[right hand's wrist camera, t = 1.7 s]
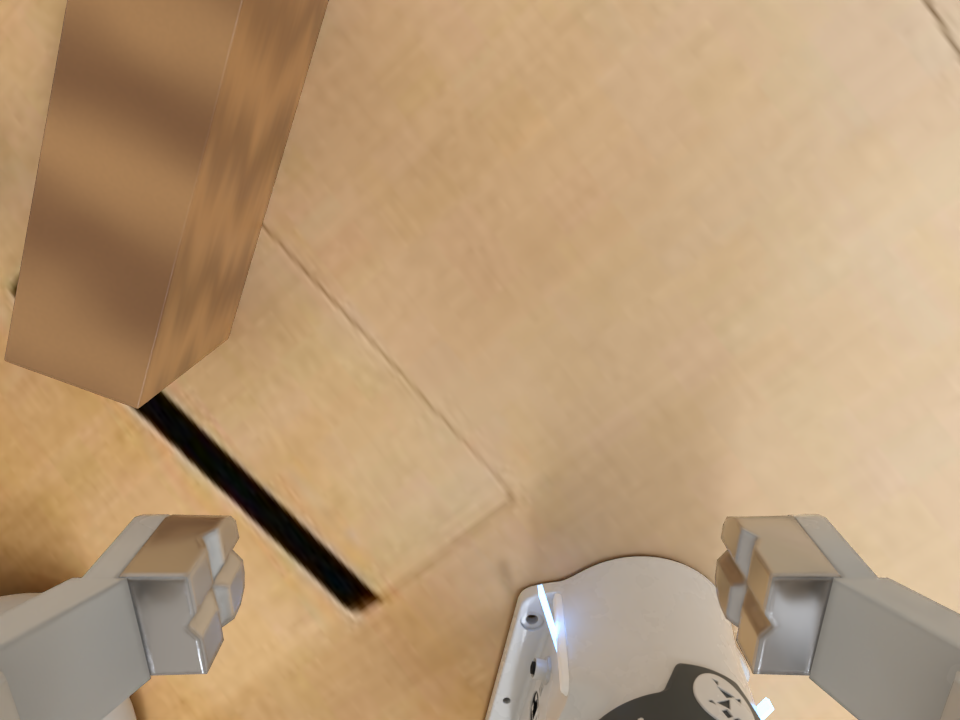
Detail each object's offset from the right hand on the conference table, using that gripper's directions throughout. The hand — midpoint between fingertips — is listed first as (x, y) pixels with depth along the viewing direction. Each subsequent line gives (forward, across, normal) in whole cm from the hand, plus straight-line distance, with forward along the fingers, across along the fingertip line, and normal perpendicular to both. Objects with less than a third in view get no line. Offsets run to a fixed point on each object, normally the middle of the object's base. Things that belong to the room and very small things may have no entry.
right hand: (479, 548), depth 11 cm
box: (+30, +14, -6) cm, 34 cm away
